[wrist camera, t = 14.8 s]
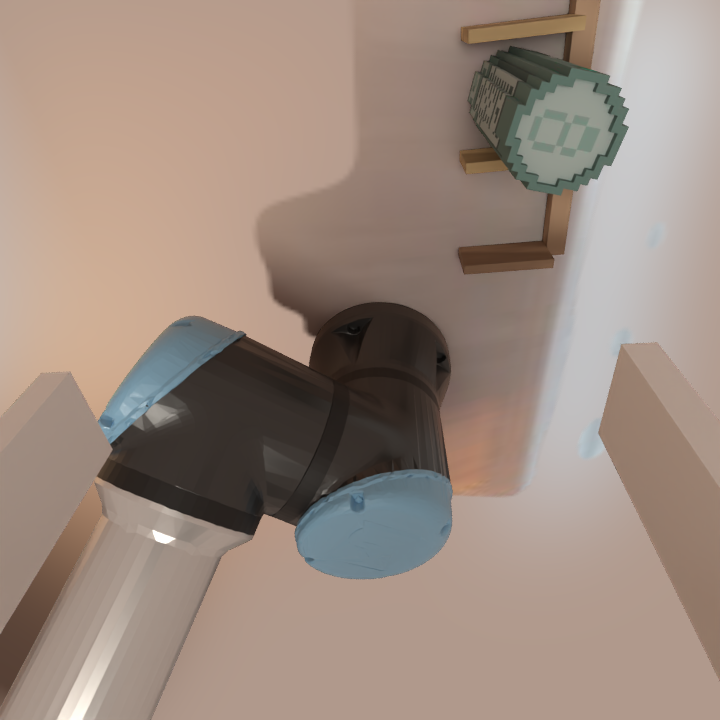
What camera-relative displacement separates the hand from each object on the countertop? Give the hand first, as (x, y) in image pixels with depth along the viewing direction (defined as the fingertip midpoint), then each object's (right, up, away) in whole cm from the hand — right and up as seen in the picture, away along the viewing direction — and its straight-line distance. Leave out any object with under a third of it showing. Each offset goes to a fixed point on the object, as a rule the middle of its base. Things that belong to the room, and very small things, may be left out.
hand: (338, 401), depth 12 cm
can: (+12, +22, +27) cm, 37 cm away
